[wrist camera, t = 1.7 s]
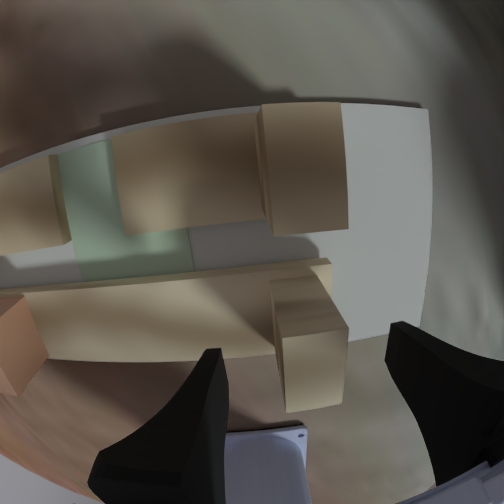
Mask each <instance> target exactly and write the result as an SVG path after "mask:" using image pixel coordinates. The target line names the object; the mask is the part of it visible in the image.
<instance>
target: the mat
mask: <svg viewBox="0 0 504 504" xmlns="http://www.w3.org/2000/svg"><path fill="white" fill-rule="evenodd" d="M260 107H261V106H249V107H238V108H229V109H220V110H212V111H205V112H198V113H192V114H185V115H179V116H174V117H168V118H163V119H158V120H153V121H148V122H143V123H138V124H134V125H130V126H125V127H121V128H117V129H113V130H109V131H106V132H102V133H98V134H95V135H91V136H88V137H84V138H81V139H77V140H74V141H71V142H68V143H65V144H62V145H59V146H56V147H53V148H50V149H47V150H44V151H41V152H39V153H36V154H33V155H31V156H28V157H26V158H23V159H20V160H18V161H15V162H13V163H11V164H8V165H6V166H4V167H1V168H0V173H2V172H4V171H7V170H9V169H12V168H14V167H17V166H19V165H22V164H24V163H27V162H30V161H32V160H35V159H38V158H41V157H44V156H46V155H55V154H58V161H59V169H60V177H61V184H62V190H63V197H64V202H65V208H66V213H67V219H68V223H69V228H70V233H71V237H72V240H71V241H70V242H68V243H66V244H65V245H61V246H55V247H49V248H43V249H37V250H31V251H25V252H19V253H13V254H8V255H2V256H0V289H6V288H19V287H31V286H44V285H56V284H68V283H79V282H91V281H102V280H113V279H124V278H135V277H145V276H155V275H166V274H176V273H186V272H196V271H206V270H215V269H225V268H235V267H244V266H253V265H262V264H272V263H281V262H290V261H299V260H307V259H316V258H325V257H327V258H328V260H329V261H330V262H331V263H332V301H333V302H334V304H335V305H336V307H337V309H338V310H339V312H340V314H341V315H342V317H343V319H344V320H345V322H346V324H347V325H348V327H349V337H348V342H349V341H354V340H359V339H364V338H369V337H374V336H379V335H384V334H388V333H389V331H390V324H391V323H394V322H399V321H405V322H407V323H409V324H411V325H413V326H415V327H418V326H419V325H420V319H421V314H422V308H423V301H424V295H425V288H426V280H427V272H428V263H429V252H430V240H431V223H432V153H431V137H430V125H429V115H428V109H421V108H412V107H402V106H390V105H376V104H355V103H341V111H342V121H343V131H344V142H345V155H346V170H347V189H348V218H349V229H344V230H334V231H324V232H314V233H304V234H294V235H284V236H275V237H274V235H273V233H272V231H271V228H270V226H269V224H268V221H267V219H260V220H250V221H241V222H232V223H223V224H214V225H206V226H197V227H189V228H181V229H173V230H165V231H157V232H150V233H142V234H135V235H128V236H126V234H125V229H124V224H123V218H122V213H121V207H120V201H119V195H118V188H117V181H116V174H115V167H114V159H113V150H112V141H111V136H114V135H119V134H123V133H127V132H131V131H136V130H140V129H145V128H150V127H155V126H160V125H165V124H171V123H177V122H182V121H189V120H195V119H202V118H209V117H217V116H225V115H234V114H244V113H255V112H258V111H259V109H260Z"/></svg>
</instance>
